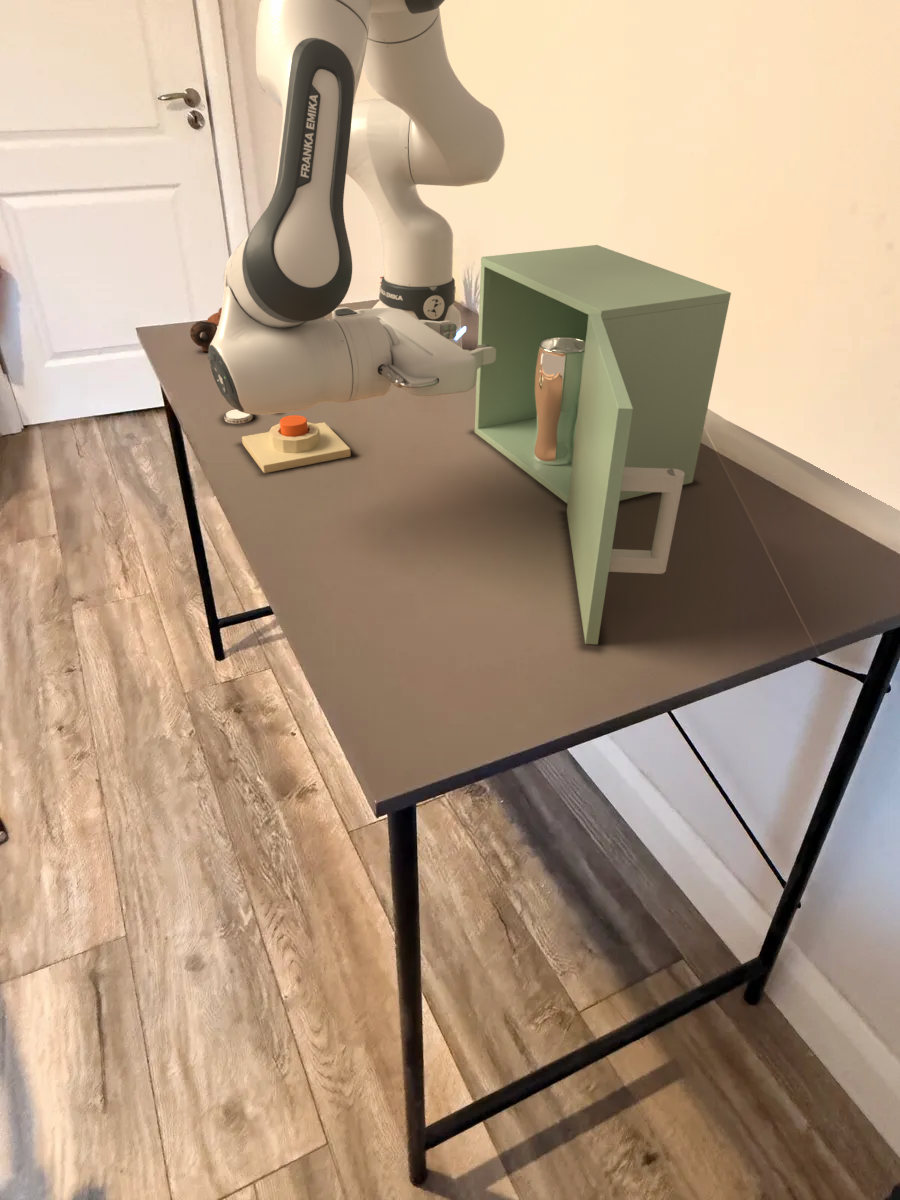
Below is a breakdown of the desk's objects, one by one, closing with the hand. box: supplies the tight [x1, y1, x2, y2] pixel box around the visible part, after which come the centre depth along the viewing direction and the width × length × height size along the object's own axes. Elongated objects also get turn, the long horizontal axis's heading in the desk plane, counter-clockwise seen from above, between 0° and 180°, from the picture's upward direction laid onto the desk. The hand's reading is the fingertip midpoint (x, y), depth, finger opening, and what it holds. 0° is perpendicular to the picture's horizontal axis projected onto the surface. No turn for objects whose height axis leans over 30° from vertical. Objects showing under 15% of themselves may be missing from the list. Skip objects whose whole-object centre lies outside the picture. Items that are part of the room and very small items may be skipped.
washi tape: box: [223, 408, 253, 425], centre depth 123 cm, size 4×4×1 cm
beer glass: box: [531, 336, 586, 465], centre depth 108 cm, size 7×7×15 cm
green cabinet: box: [474, 244, 732, 505], centre depth 108 cm, size 18×26×24 cm
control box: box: [241, 421, 352, 474], centre depth 114 cm, size 10×12×3 cm
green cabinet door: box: [566, 313, 685, 645], centre depth 84 cm, size 7×26×24 cm, turn 177°
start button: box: [279, 414, 308, 437], centre depth 113 cm, size 4×4×2 cm
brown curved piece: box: [189, 307, 222, 353], centre depth 146 cm, size 12×10×8 cm
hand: (472, 340), depth 98 cm, fingers open, 8 cm apart
